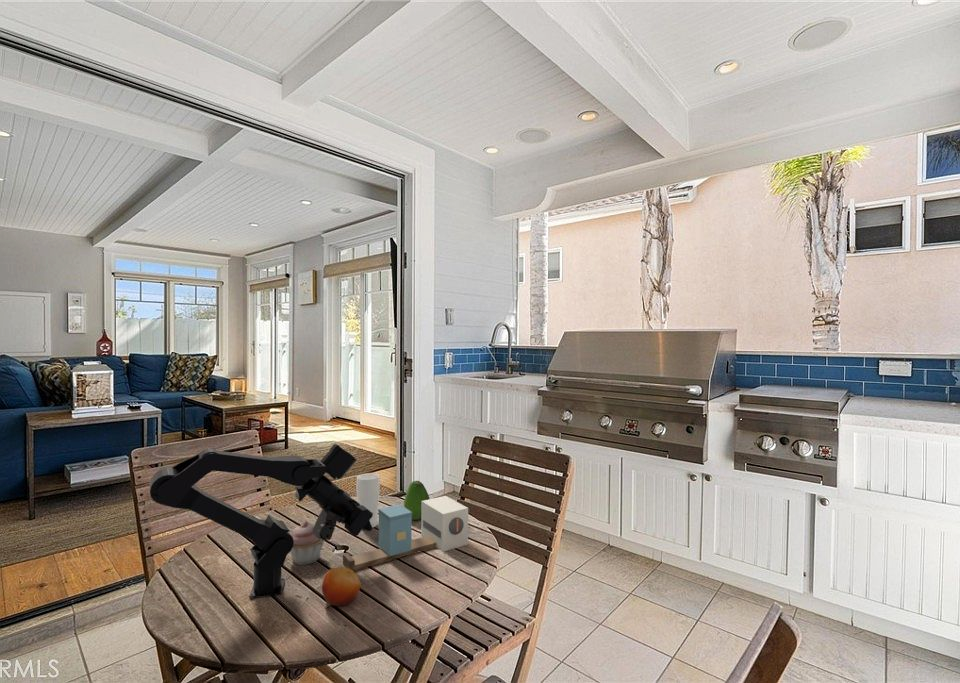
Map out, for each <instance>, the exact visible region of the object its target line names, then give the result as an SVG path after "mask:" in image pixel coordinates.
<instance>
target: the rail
mask: <svg viewBox="0 0 960 683" xmlns="http://www.w3.org/2000/svg"><path fill="white" fill-rule="evenodd" d="M434 548H437V547H436V542H435V541H433V540H432V539H431V538H429V537H428V536H426V537H422V536H421V537H418V538H416V539H411V550H410V551H407V552H403V553H400V554H396V555H393V556H389V555H388V554H387V553H386V552H385V551H384V550H382V549H381V548H377V549H373V550H371V551H367V552H363V553H359V554H355V555H352V556H351V555H350V554H349V553H348V552H345V553H342V564H343V566H344V567H345V568H348V569H351V570H352V571H357V570H360V569H364V568H367V567H371V566H374V565H377V564H378V565H379V564H381V563H385V562H389V561H392V560H395V559H398V557H399V558H402V556H403V557H405V555H406V556H409V554H410V555H413V554H416V553H415V552H417V553H419V552H418V551H420V552H423V551H422V550H424V551H426V550H427V551H428V550H430V549H434ZM412 553H413V554H412ZM388 560H389V561H388Z"/></svg>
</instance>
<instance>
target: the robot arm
mask: <svg viewBox="0 0 960 683" xmlns="http://www.w3.org/2000/svg"><path fill="white" fill-rule="evenodd" d="M357 461H358V460H357V458H355V456H353V455H352V454H351V453H350V452H348V451H346V450H345V449H344V448H342V447H341V446H340V445H338V444H337V443H334V444H333V445H332V446H331V447H330V449H329V450H328V452H326V454H325V455H324V456H323V457H322V459H321V460H319V459H316V458H304V457H303V456H300V455H281V456H272V457H271V456H270V457H269V456H261V455H253V454H252V455H251V454H246V453H245V454H244V453H240V452H239V453H238V452H233V451H231V452H230V451H222V450H217V449H214V448H205V449H203V450H201V451H200V452H199V453H197V454H195V455H193V456H191V457H188V458H187V459H185V460H182V461H180V462H178V463H177V464H175V465H174V466H171V467H166V468H160V469H159V470H158V471H156V472H154V474H152V477H151V478H150V480H149V495H150V498H151V500H152V501H153V502H155V503H156V504H158V505H162V506H166V507H169V508H173V509H179V510H188V511H191V512H194V513H195V514H198V515H200V516H202V517H204V518H206V519H208V520H210V521H212V522H215V523H216V524H218V525H220V526H222V527H225V528H226V529H229V530H230V531H232V532H233V533H234V532H235V533H237V534H238V535H241V536H243V537H245V538H247V539H248V540H250V542H252V543H253V544H254V545H253V546H252V547H251V548H250V553H251V555H252V558H253V559H254V563H253V586H252V587H251V589H250V593H249V599H254V598H255V599H256V598H262V597H268V596H269V597H270V596H277V595H278V596H279V595H282V594H283V593H282V592H283V588H284V585H285V581H286V578H285V577H282V572H283V571H282V570H283V569H282V567H284V564H285V562H286V558H287V556H288V554H290V553H291V552H290V551H291V549H292V547H293V544H294V541H293V537H292V536H291V535H292V533H290V529H289V527H288V526H287V525H286V523H285V522H284V521H283V520H279V519H276V518H275V517H274V516H272V515H270V514H268V515H267V517H266V519H263V518H262V519H260V518H256V517H254V516H253V515H251V514H248V513H246V512H245V511H243V510H241V509H238V508H237V507H235V506H234V505H230V504H229V503H227V502H225V501H224V500H222V499H220V498H217V497H216V496H213V495H212V494H209V493H208V492H206V491H204V490H202V489H200V488H199V486H197V485H196V484H197V483H198V482H199V481H201V480H202V479H203V478H204V477H206V475H208V474H210V473H212V472H213V471H215V472H220V473H221V472H223V473H232V474H240V475H250V476H259V477H267V478H271V479H273V480H277V481H279V482H282V483H285V484H288V485H292V486H295V487H294V490H295V492H294V493H295V495H294V497H295V498H296V499H297V501H299V502H301V501H303V500H304V499H305V497H306V496H307V497H308V498H309V499H311V500H312V501H313V502H314V503H316V504H317V505H318V506H319V508H320V509H321V511H320V514H319V513H318V516H317V519H316V522H315V523H314V524H315V526H314V528H313V534H314V535H315V536H316V537H317V538H321V539H322V540H323V541H326V540H327V541H330V540H331V539H332V537H333V534H334V531H335V528H336V526H337V523H338V524H340V523H341V525H344V528H345V529H346V531H347V532H348V533H350V534H351V535H352V536H354V537H357V536H358V535H360V533H361V532H362V530H364V531H367V532H371V531H372V529H373V528H372V526H371V523H370V521H369V520H370V519H371V518H372V516H373V513H372V512H370V511H369V510H368V509H367V508H366V507H364V506H363V505H361V506H360V504H359V503H358V502H357V500H356V499H354V498H353V497H351V495H350V494H348V493H347V491H345V490H343V489H342V488H340V487H339V486H338V485H337V484H336V483H334V482H333V481H332V479H333V480H334V481H335V480H336V479H337V480H340V479H341V480H342V479H343V477H345V475H346V474H347V473H348V471H349V470H350V469H352V467H353V466H354V464H355V463H356V462H357ZM325 474H327V475H328V476H329V477H331V478H332V479H329V478H328V477H327V476H326V475H325Z"/></svg>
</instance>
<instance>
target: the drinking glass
mask: <svg viewBox="0 0 960 683" xmlns="http://www.w3.org/2000/svg"><path fill="white" fill-rule="evenodd" d="M380 479H381V478H380V475H379V474H378V473H373V472H367V473H361V474H359V475H356V482H355V483H356V486H355V487H356V501H357V502H358V503H359V504H360V506H361V505H363V506H364V507H366V508H367V509H368V510H369V511H370V512H372V513H373V516H372V518H371V519H370V520H369V521H370V523H371V526H372V529H373V528H375V527H376V526H378V514H379V513H378V509H379V500H380V489H381V488H380V487H381V486H380V484H381V483H380Z"/></svg>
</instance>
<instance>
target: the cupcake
mask: <svg viewBox="0 0 960 683" xmlns="http://www.w3.org/2000/svg"><path fill="white" fill-rule="evenodd" d="M314 526H315V523H314V522H312V521H307V520H305V521H303V522H302V523H301V525H298V526H296V527H295V528H294V529H293V531H292V533H291V536H292V537H293V541H294V544H293V547H292V549H291V551H290V552H289V553H290V555H291V560H292V562H293V563H294V564H295V565H300V566H301V565H303V566H305V565H309V564H313V563H315V562H317V561H318V560H319V559H320V556H321V552H322V547H323V545H324V543H325V541H326V540H325V541H323V540H322V539H321V538H317V537H316V536H315V535H314V534H313V528H314Z"/></svg>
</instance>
